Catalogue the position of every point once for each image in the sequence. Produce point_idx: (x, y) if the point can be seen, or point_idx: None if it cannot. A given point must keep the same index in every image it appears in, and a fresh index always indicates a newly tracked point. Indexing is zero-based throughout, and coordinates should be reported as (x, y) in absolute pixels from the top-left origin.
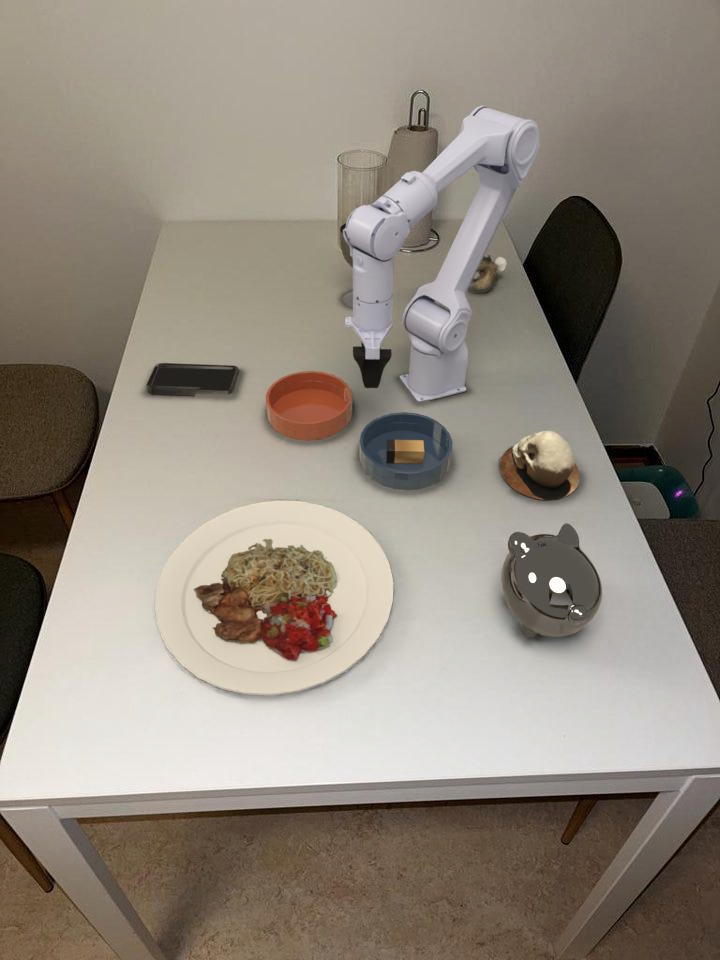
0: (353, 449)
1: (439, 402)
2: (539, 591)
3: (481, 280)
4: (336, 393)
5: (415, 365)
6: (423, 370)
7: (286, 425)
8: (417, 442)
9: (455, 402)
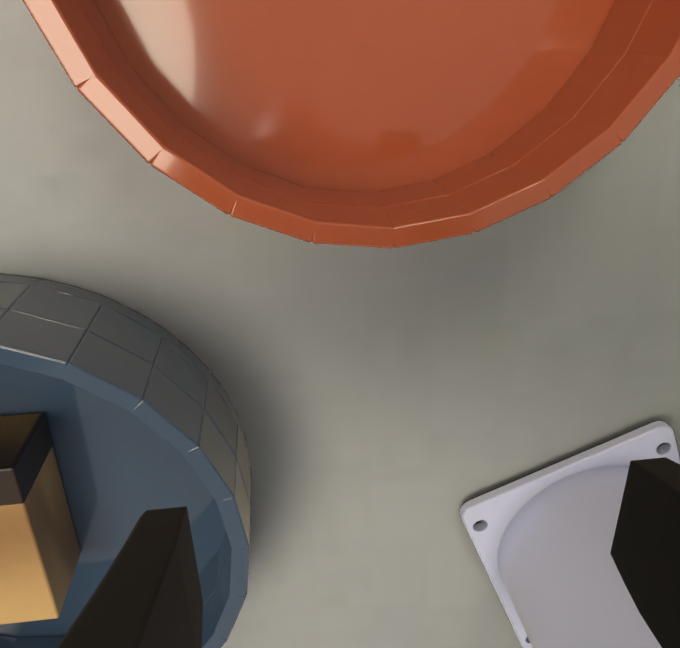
0: (56, 232)
1: (465, 573)
2: None
3: None
4: (558, 95)
5: (621, 619)
6: (575, 645)
7: None
8: (30, 598)
9: (461, 621)
